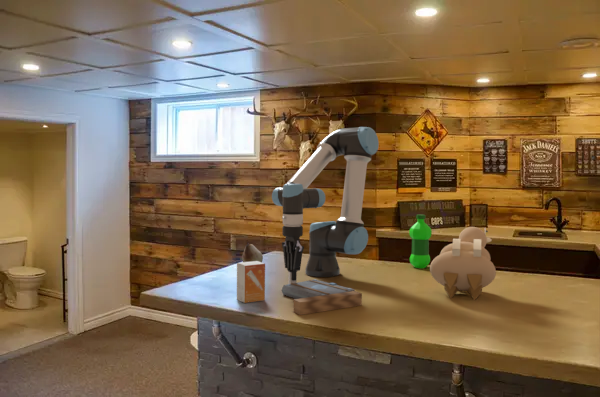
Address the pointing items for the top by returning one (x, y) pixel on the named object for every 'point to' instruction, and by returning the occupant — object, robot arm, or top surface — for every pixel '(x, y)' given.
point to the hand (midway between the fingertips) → (292, 288)
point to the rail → (327, 302)
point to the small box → (250, 281)
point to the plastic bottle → (420, 243)
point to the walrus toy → (464, 264)
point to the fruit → (251, 254)
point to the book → (312, 289)
